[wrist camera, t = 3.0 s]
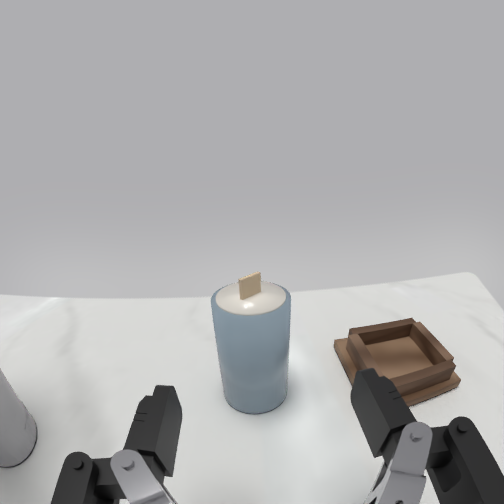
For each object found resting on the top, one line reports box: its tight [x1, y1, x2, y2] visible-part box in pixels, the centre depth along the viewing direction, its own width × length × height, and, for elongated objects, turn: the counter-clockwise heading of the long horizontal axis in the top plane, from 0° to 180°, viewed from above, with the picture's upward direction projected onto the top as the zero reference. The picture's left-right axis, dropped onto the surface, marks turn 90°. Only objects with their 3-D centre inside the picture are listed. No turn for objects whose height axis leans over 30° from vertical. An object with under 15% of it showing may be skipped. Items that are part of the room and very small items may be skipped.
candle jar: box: [211, 272, 291, 414], centre depth 23 cm, size 6×6×13 cm
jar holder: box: [334, 318, 461, 406], centre depth 25 cm, size 12×12×3 cm
